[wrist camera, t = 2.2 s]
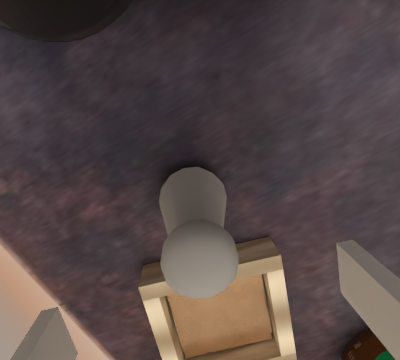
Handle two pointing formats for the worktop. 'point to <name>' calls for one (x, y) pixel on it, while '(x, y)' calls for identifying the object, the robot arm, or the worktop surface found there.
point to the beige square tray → (248, 266)
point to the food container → (366, 348)
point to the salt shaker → (196, 234)
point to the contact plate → (222, 318)
